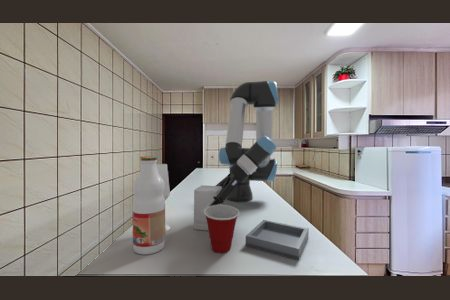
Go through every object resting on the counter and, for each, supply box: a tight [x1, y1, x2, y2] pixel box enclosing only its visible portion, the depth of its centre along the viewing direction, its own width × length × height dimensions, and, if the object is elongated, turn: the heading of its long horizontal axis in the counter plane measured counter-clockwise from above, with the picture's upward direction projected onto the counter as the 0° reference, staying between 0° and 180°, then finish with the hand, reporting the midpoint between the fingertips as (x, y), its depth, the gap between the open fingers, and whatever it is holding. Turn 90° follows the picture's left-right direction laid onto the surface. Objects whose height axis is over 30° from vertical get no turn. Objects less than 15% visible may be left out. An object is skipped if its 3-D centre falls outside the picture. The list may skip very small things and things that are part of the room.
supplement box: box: [193, 184, 223, 232], centre depth 82 cm, size 9×9×15 cm
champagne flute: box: [156, 163, 171, 232], centre depth 79 cm, size 7×7×24 cm
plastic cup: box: [204, 204, 240, 254], centre depth 65 cm, size 11×11×12 cm
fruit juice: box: [131, 155, 166, 255], centre depth 65 cm, size 9×9×28 cm
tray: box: [245, 219, 309, 261], centre depth 70 cm, size 16×16×3 cm
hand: (203, 208), depth 82 cm, fingers open, 13 cm apart
